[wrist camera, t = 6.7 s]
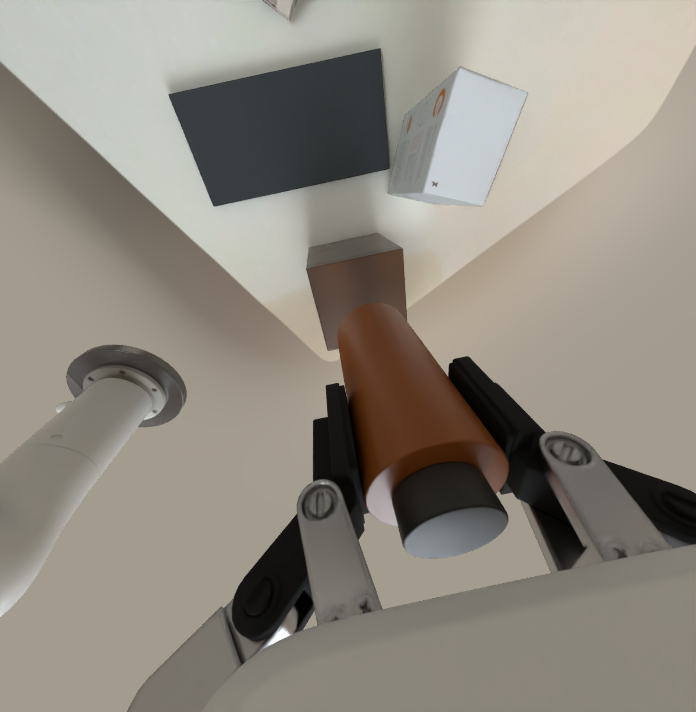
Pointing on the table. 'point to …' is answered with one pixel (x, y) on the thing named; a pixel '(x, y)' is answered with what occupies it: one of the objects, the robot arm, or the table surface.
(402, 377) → the spice bottle
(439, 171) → the small box
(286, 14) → the newspaper
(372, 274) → the bronze lidded cube
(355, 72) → the mat
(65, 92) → the table surface
